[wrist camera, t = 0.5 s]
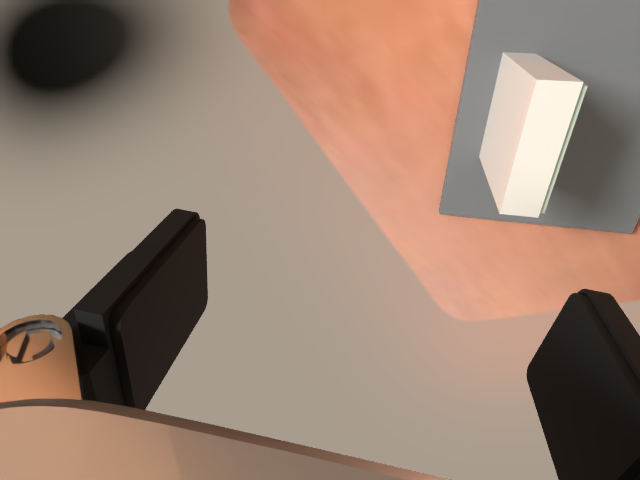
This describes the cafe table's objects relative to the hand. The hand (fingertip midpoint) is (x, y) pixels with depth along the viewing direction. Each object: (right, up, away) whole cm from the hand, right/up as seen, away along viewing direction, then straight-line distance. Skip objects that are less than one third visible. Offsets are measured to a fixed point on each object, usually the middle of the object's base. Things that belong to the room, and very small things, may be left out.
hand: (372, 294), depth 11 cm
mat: (+15, +10, +18) cm, 26 cm away
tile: (+11, +10, +17) cm, 23 cm away
